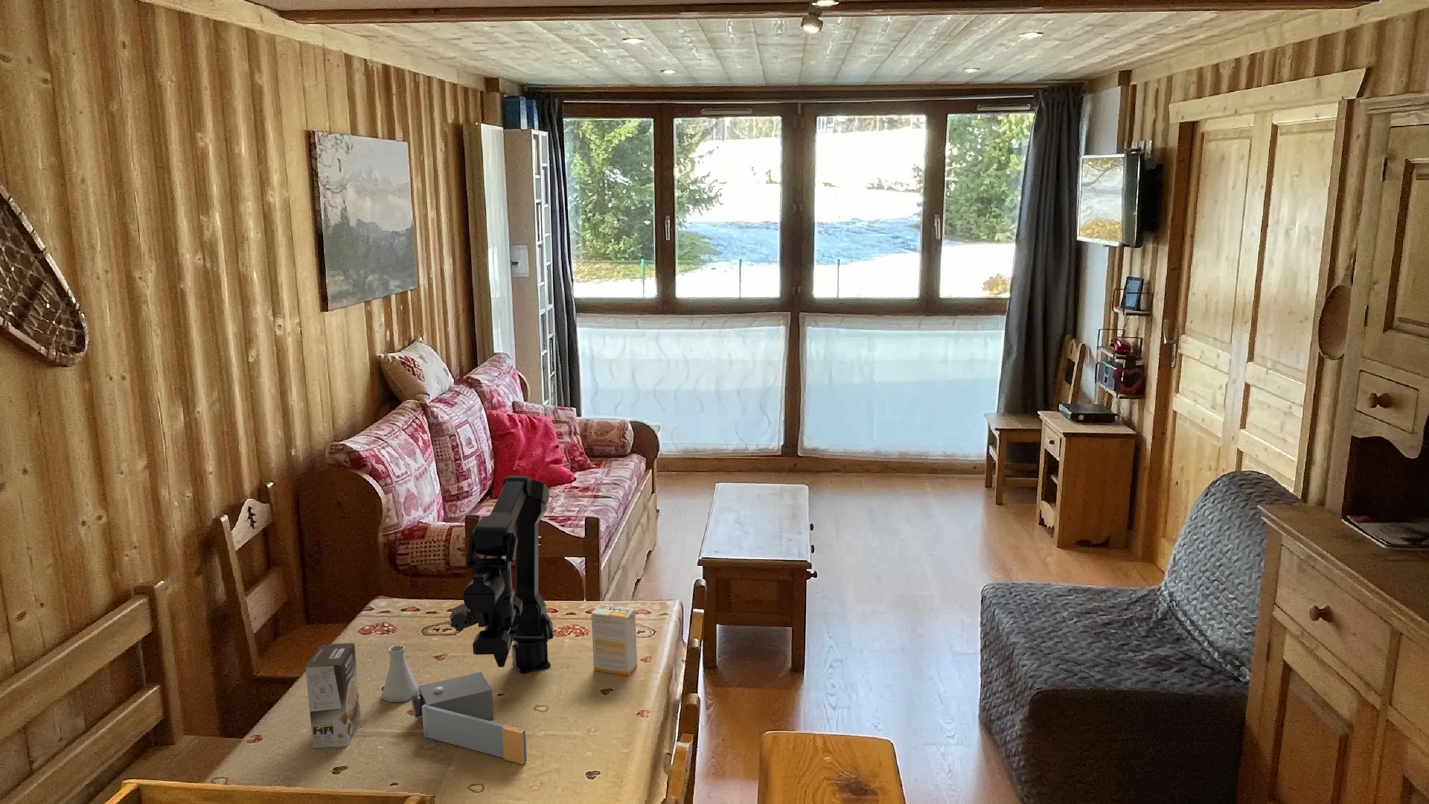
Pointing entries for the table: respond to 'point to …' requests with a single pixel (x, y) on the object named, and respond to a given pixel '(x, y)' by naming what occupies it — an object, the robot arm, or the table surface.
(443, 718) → the side door
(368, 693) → the table surface
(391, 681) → the flask
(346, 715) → the coffee box
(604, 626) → the supplement box
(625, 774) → the table surface
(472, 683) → the camera housing
